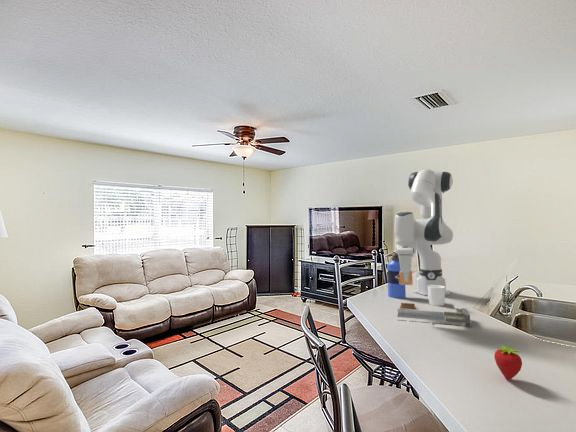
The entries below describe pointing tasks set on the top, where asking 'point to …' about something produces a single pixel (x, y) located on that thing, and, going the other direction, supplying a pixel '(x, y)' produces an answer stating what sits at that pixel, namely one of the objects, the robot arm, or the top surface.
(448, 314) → the rail
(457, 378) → the top surface
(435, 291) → the white cup
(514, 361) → the strawberry
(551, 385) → the top surface
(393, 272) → the water bottle
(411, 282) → the orange notched block
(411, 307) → the pad
